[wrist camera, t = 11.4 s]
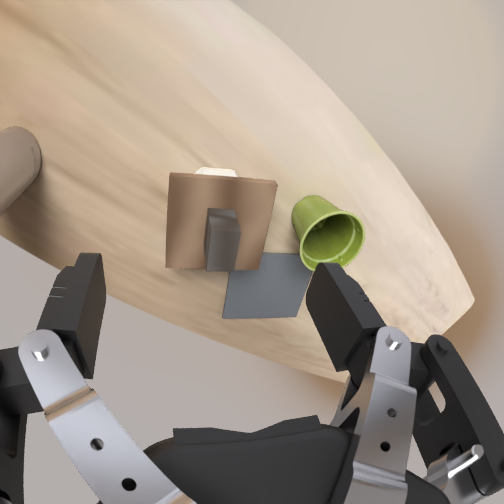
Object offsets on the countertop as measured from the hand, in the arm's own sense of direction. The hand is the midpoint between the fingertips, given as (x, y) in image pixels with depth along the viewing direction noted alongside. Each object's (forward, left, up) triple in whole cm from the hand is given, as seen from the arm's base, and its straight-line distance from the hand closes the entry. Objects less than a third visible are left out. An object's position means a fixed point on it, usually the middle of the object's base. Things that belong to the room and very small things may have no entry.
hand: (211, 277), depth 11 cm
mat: (+15, -26, -30) cm, 42 cm away
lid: (+4, -11, -24) cm, 26 cm away
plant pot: (+19, -11, -30) cm, 37 cm away
